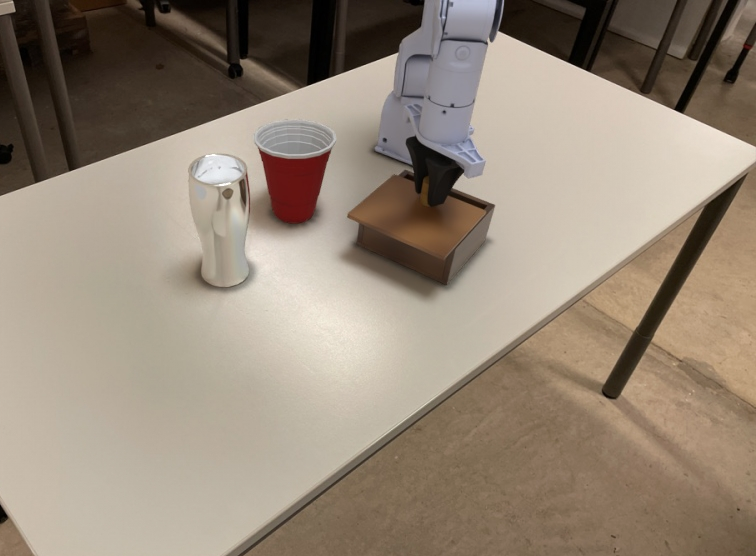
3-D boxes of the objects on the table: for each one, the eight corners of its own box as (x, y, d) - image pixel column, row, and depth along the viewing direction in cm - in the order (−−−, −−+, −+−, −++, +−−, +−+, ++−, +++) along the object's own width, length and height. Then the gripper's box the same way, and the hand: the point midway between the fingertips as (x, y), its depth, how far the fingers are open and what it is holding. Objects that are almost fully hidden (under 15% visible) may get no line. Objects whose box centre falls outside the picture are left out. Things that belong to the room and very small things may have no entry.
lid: (346, 217, 83) (349, 192, 80) (393, 177, 89) (397, 153, 87) (443, 260, 77) (449, 235, 75) (485, 214, 84) (492, 189, 82)
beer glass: (209, 296, 81) (199, 192, 70) (189, 263, 85) (177, 160, 74) (261, 280, 83) (259, 177, 72) (239, 248, 87) (234, 146, 77)
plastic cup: (320, 185, 98) (324, 110, 90) (340, 229, 91) (347, 151, 83) (248, 193, 96) (246, 117, 88) (263, 238, 89) (261, 159, 80)
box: (356, 244, 89) (360, 207, 85) (399, 204, 96) (405, 169, 91) (446, 285, 84) (455, 248, 80) (485, 240, 91) (495, 204, 86)
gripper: (518, 118, 71) (489, 221, 81) (444, 64, 80) (425, 162, 90) (464, 131, 69) (440, 235, 79) (394, 73, 78) (380, 173, 88)
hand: (429, 197), depth 84 cm, fingers closed on lid, 2 cm apart
